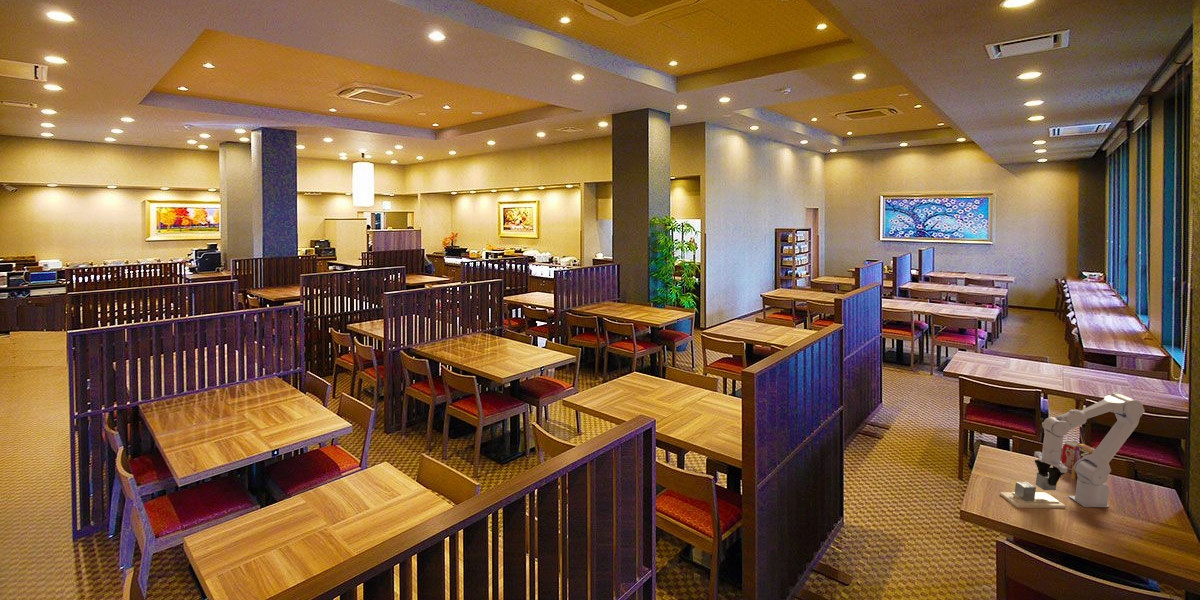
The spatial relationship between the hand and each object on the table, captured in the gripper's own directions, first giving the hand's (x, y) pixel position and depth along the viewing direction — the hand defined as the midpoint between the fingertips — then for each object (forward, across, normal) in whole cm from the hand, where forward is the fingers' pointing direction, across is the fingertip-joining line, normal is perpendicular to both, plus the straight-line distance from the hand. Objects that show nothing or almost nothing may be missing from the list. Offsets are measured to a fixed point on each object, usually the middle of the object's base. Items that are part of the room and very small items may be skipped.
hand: (1047, 482), depth 228 cm
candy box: (+8, -15, +27) cm, 32 cm away
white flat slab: (+7, 0, -4) cm, 8 cm away
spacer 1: (+6, 0, -8) cm, 10 cm away
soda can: (+8, -27, +30) cm, 41 cm away
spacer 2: (+2, 0, 0) cm, 2 cm away
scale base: (+8, 0, -6) cm, 9 cm away
